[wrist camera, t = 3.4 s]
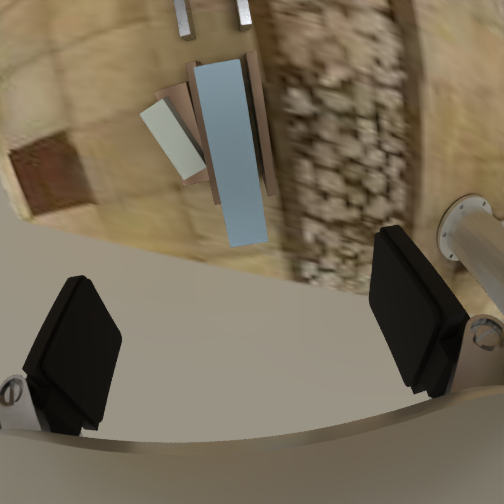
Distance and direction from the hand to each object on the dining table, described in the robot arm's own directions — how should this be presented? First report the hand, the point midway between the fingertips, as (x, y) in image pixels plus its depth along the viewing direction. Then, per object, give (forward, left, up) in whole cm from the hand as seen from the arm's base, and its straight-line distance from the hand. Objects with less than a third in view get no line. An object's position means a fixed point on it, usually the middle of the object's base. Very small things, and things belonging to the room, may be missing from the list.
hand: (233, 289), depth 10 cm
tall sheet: (0, 0, -30) cm, 30 cm away
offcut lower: (+6, 0, -30) cm, 31 cm away
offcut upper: (+6, 0, -28) cm, 28 cm away
